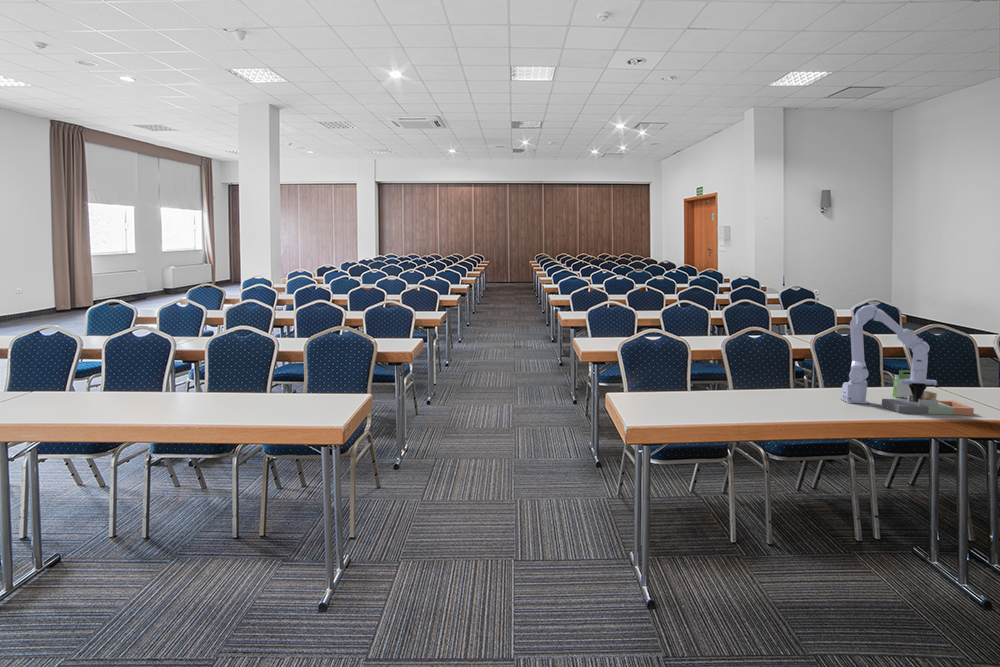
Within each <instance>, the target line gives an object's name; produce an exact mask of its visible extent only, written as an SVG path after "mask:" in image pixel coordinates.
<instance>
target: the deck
mask: <svg viewBox="0 0 1000 667" xmlns="http://www.w3.org/2000/svg"><path fill="white" fill-rule="evenodd" d="M881 400H882V401H881V406H882V405H883V407H884V406H885V407H884V408H886V407H888V408H890V409H889V410H891V409H892V410H891V411H893V410H894V411H893V412H895V411H896V412H895V413H897V412H898V413H897V414H912V413H919V414H922V415H946V414H962V415H961V416H974V410H975V408H974V407H972V406H968V405H966V404H963V403H961V402H957V401H955V400H946V399H945V400H940V399H938V400H939V401H938V406H919V405H918V402H917V401H907V400H908V398H881ZM888 408H887V409H888ZM919 414H918V415H919Z"/></svg>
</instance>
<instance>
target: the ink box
mask: <svg viewBox="0 0 1000 667" xmlns="http://www.w3.org/2000/svg"><path fill="white" fill-rule="evenodd" d="M904 373H906V374H904ZM907 373H910V374H907ZM910 376H911V369H910V370H909V369H899V371H898V375H894V379H893V387H892V397H893V396H895V397H904V398H903V399H908V395H912V392H911V389H910V387H909V384H899V379H910ZM895 397H894V398H895Z"/></svg>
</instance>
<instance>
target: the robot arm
mask: <svg viewBox="0 0 1000 667" xmlns="http://www.w3.org/2000/svg"><path fill="white" fill-rule="evenodd" d="M870 320H873V321H876V322H881V323H882V324H884V325H885V326H887V328H889V329H890V330H892V331H893V332H894V333H895V334H896V339H897V340H899V341H900V342H901V343H902V344H903V345H904V346H906V348H908V349H911V352H912V358H911V368H910V370H911V373H910V374H911V376H910V379H899V384H909V387H910V389H911V392H912V395H913V400H914V401H918V399H920V397H921V395H922V393H923V391H926V389H927V386H928V385H929V386H930V385H931V386H932V385H933V386H937V385H938V380H935V379H927V373H928V364H929V363H928V362H929V359H928V358H929V354H928V353H930V352H929V351H930V345H929V344H928V342H927V341H925V340H924V339H923V338H922V337H921V338H920V337H919V336H918V335H917V334H915V333H914V330H912V329H910V328H903V327H902V326H901V325H900V324H898V323H897V322H896V321H895V320H894V319H893V318H892V317H891V316H890V315H889V314H888V313H886V312H885V311H884V310H882V309H880V308H878V306H876V304H867V305H863V306H862V307H860V308H858V309H857V310H856V312H855V314H854V316H853V317H852V319H851V320H850V322H849V327H850V328H849V331H850V345H851V346H850V349H851V365H850V372H849V373H848V378H849V380H848V381H847V382H845V381H844V382H843V383H842V386H841V387H842V388H841V397H840V400H841V399H842V400H841V401H843V400H844V402H845V401H846V402H845V403H847V404H868V403H869V404H871V403H870V402H869V401H867V392H868V391H867V390H868V381H867V380H866V379H868V377H869V370H868V368H867V364H866V361H865V347H864V346H865V345H864V329H863V328H864V327H863V326H864V325H865V324H866V323H869V321H870Z"/></svg>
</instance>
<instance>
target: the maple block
mask: <svg viewBox="0 0 1000 667" xmlns="http://www.w3.org/2000/svg"><path fill="white" fill-rule="evenodd" d="M937 396H938V394H937V393H936V392H934V391H931V390H924V391H923V393H922V395H921V397H920V399H932V400H937ZM917 402H918V401H917Z"/></svg>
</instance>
